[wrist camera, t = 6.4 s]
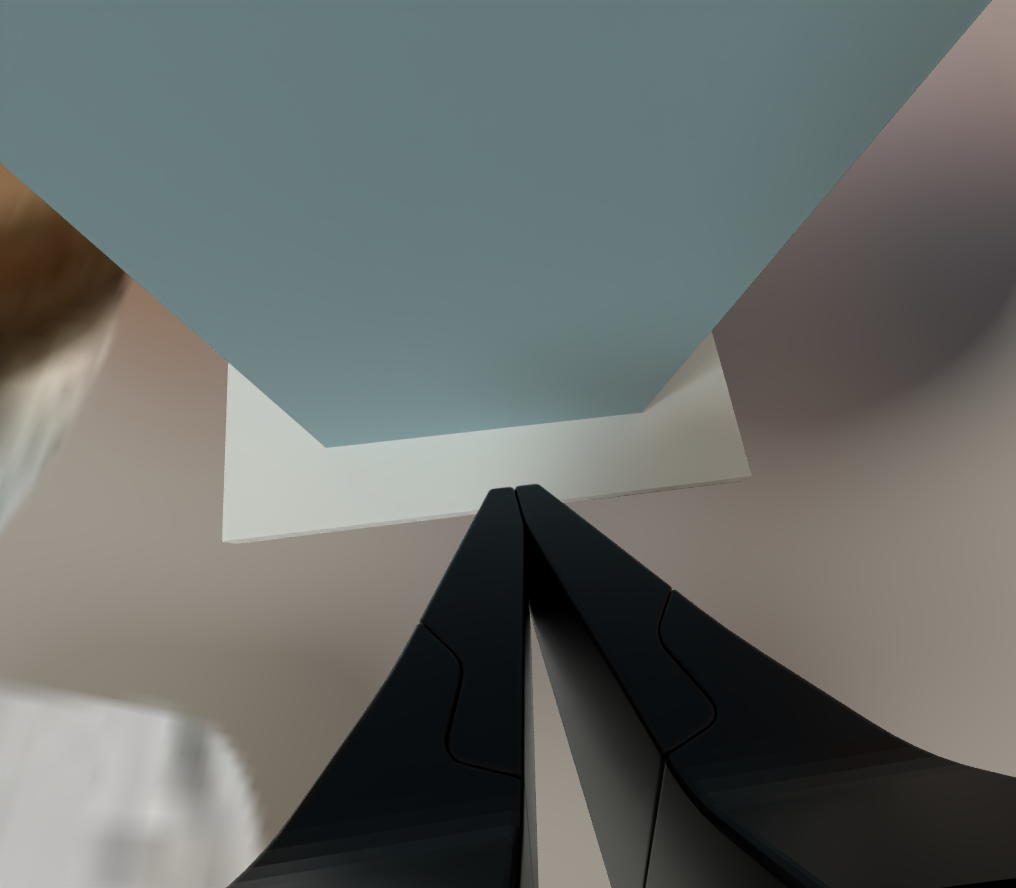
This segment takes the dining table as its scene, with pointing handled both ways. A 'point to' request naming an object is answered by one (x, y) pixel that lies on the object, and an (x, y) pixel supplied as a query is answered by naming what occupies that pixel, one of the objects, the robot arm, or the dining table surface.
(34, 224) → the dining table surface
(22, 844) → the dining table surface
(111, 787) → the dining table surface
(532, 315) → the block
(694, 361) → the plate
